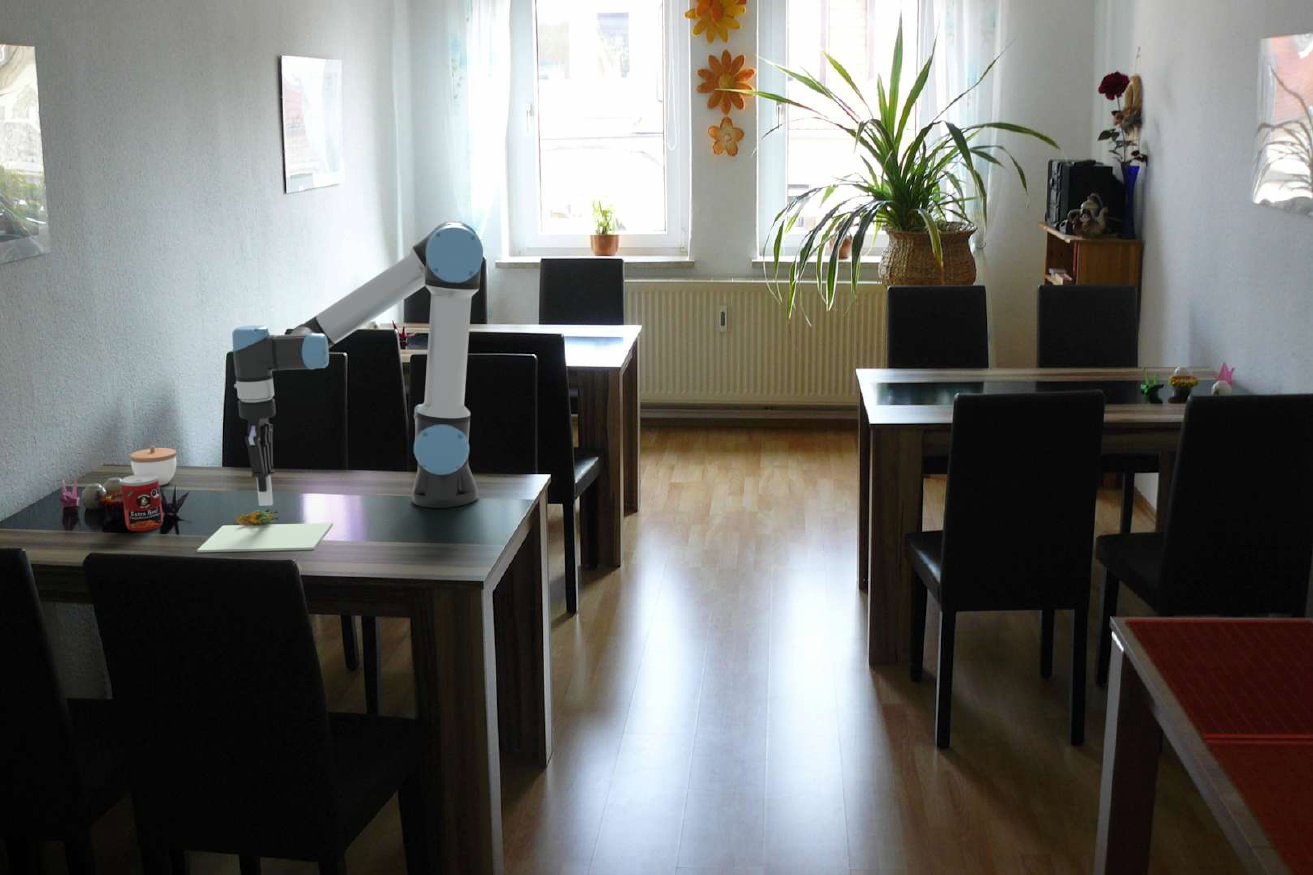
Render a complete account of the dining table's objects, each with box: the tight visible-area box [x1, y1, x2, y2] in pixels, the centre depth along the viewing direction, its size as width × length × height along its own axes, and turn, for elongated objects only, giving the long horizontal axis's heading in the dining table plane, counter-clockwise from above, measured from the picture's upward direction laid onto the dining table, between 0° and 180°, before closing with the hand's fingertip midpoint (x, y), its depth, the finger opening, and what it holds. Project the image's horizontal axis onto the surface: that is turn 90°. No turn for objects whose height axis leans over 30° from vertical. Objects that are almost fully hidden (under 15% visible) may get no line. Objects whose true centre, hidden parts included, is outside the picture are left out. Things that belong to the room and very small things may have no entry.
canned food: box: [120, 474, 164, 532], centre depth 282 cm, size 8×8×11 cm
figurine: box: [235, 508, 280, 526], centre depth 282 cm, size 3×12×8 cm
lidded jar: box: [129, 445, 177, 487], centre depth 318 cm, size 11×11×9 cm
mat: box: [196, 522, 334, 553], centre depth 273 cm, size 24×17×1 cm
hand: (266, 504), depth 280 cm, fingers closed
